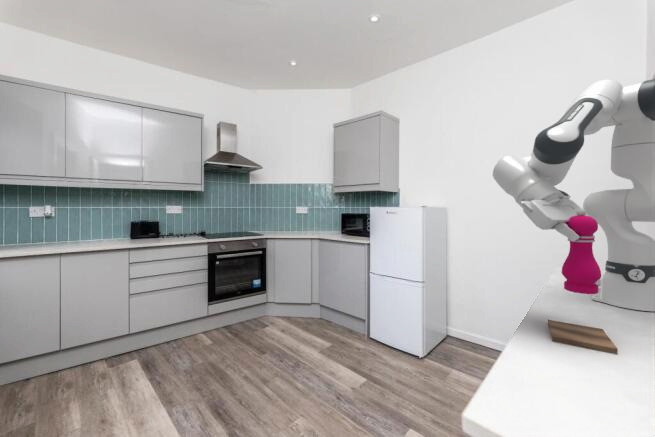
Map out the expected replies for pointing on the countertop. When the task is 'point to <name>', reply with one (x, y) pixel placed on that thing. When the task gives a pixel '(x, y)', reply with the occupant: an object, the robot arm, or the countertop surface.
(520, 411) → the countertop surface
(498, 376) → the countertop surface
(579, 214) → the pepper mill
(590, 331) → the walnut board
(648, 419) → the countertop surface
